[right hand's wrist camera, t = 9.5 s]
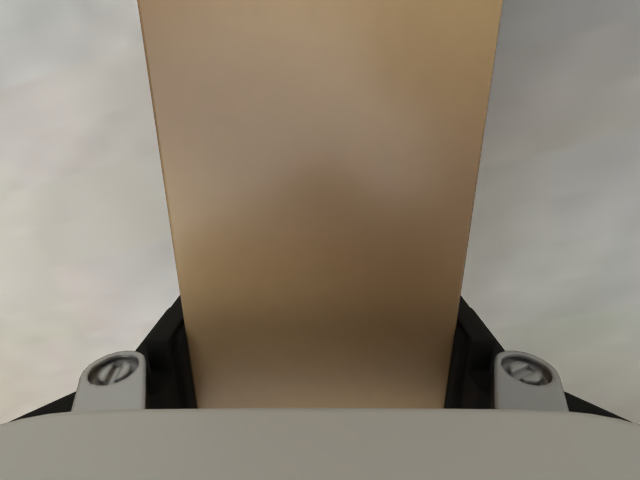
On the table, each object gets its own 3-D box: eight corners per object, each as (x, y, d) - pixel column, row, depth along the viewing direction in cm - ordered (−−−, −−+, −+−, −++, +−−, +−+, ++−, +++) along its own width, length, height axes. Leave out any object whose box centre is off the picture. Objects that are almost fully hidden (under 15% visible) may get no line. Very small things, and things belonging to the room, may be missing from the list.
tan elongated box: (242, -132, 14) (5, -883, 4) (400, -133, 14) (635, -896, 4) (266, 296, 20) (207, 485, 10) (375, 296, 20) (433, 486, 10)
